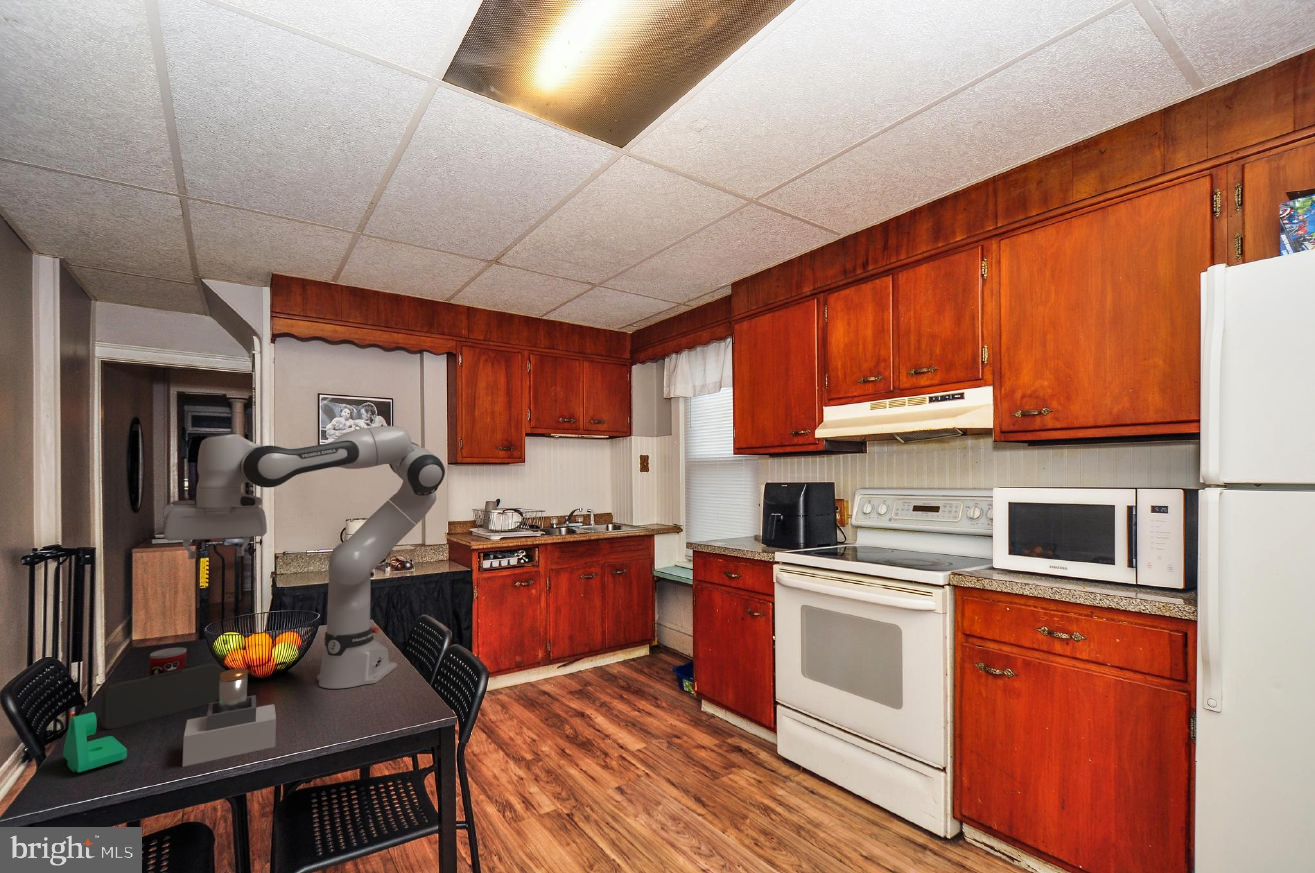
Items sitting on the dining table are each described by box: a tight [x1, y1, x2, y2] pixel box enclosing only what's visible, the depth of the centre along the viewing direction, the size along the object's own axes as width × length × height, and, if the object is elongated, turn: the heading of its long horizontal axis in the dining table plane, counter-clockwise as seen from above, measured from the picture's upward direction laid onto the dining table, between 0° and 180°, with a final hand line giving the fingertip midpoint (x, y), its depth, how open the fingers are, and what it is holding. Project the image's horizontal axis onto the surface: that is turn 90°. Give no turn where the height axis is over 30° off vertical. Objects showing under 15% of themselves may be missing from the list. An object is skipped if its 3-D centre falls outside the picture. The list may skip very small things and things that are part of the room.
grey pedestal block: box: [182, 694, 277, 768], centre depth 134 cm, size 16×10×9 cm, turn 124°
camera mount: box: [62, 711, 128, 773], centre depth 128 cm, size 12×8×10 cm, turn 54°
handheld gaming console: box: [100, 662, 221, 730], centre depth 152 cm, size 23×3×10 cm, turn 143°
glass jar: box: [218, 668, 249, 713], centre depth 134 cm, size 5×5×10 cm
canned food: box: [148, 647, 187, 676], centre depth 166 cm, size 8×8×11 cm
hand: (216, 557), depth 148 cm, fingers open, 8 cm apart
